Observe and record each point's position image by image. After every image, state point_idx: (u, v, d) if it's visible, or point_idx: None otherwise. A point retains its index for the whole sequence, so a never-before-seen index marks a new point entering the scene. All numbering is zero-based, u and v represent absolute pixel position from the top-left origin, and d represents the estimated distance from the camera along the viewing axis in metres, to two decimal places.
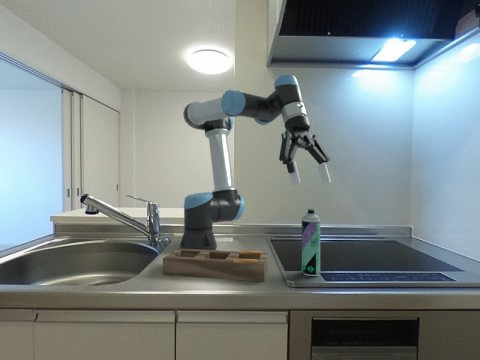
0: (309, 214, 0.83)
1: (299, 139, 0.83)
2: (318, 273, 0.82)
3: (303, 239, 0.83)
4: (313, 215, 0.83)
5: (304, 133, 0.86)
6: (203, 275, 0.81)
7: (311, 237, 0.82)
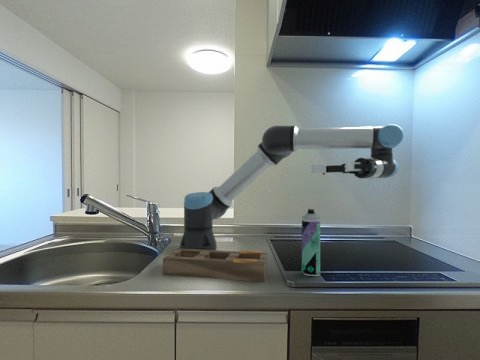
0: (309, 214, 0.83)
1: (361, 172, 0.94)
2: (318, 273, 0.82)
3: (303, 239, 0.83)
4: (313, 215, 0.83)
5: (355, 171, 0.99)
6: (203, 275, 0.81)
7: (311, 237, 0.82)
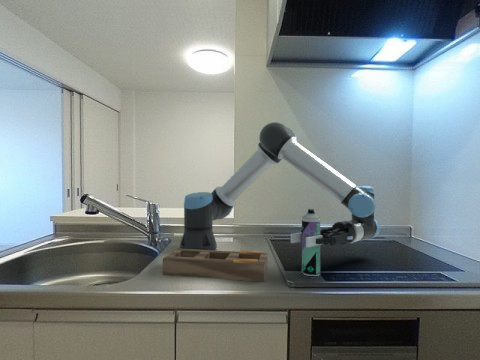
0: (309, 214, 0.83)
1: None
2: (318, 273, 0.82)
3: (303, 239, 0.83)
4: (313, 215, 0.83)
5: None
6: (203, 275, 0.81)
7: None
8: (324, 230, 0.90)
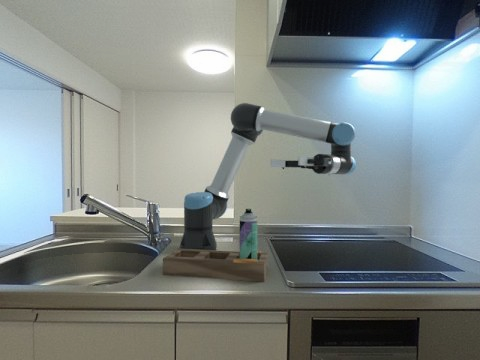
0: (246, 214, 0.84)
1: (316, 167, 0.99)
2: None
3: (240, 239, 0.84)
4: (249, 215, 0.83)
5: (313, 166, 1.03)
6: (203, 275, 0.81)
7: (247, 237, 0.82)
8: None
